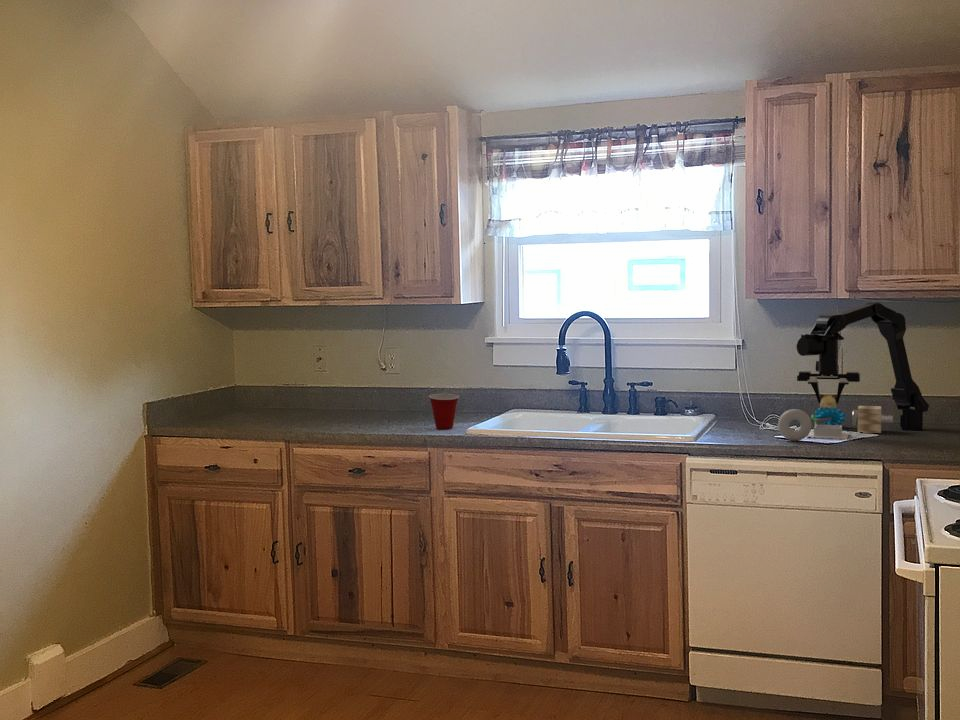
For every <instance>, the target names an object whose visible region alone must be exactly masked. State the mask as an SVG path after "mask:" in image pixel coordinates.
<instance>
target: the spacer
mask: <svg viewBox="0 0 960 720" xmlns="http://www.w3.org/2000/svg"><path fill="white" fill-rule="evenodd" d="M836 399H837V393H820V404H819V408H820V407H821V408H822V409H824V408H829V409H832V408H837V406H838V404H837V402H836Z"/></svg>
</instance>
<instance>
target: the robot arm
mask: <svg viewBox="0 0 960 720" xmlns="http://www.w3.org/2000/svg"><path fill="white" fill-rule="evenodd" d="M868 318H870V319H871V321H872V322H873V323H874V324H876V325H877V328H878V330H879V332H880V334H881V336H882V337H883V338H884V339H885V340H886V343H887V347H888V351H889V357H890V361H891V365H892V368H893V374H894V378H895V384H894V387H891V388H890V391H891V395H892V399H891V400H893V401H894V403H895V404H896V408H897V410H901V411H902V412H901V413H900V414H899V416H900V417H899V420H900V421H899V426H900V428H901V430H904V431H905V430H908V431H909V430H910V431H911V430H912V431H924V427H923V426H924V425H923V424H924V413H925V412H928V410H929V408H930V404H929V403H928V402H927V400H926V399H924V397H923V394H922V392H921V390H920V387H919V385H918V384H917V383H916V382H915V381H914V380H913V376H912V372H911V367H910V363H909V360H908V354H907V350H906V346H905V341H904V336H905V333H906V330H907V327H906V325H907V324H906V322H907V321H906V317H905V316H904V314H902V313H900V312H897V311H895V310H893V309H891V308H889V307H887V306H885V305H884V304H882V303H880V302H878V301H877V302H874V301H873V302H867V303H865V304H863V305H859V306H857V307H854V308H850V309H848V310H846V311H842V312H840V313H839V312H838V313H827V314H821V315H819V316H818V317H817V318H816V320H815V321H816V322H815V323H814V325H813V327H812V328H811V330H810V332H809V333H806V334H805V333H801V334H800V338H799V339H798V340H797V344H796V351H797V353H798V354H799V356H802V357H808V356H818V360H815V369H814V370H815V372H818V373H812V371H810V370H809V371H807V370H804V371H803V370H800V371H799V372H798V373H796V381H797V382H807V385H811V387H812V390H813V392H814V395H815V396H816V399H817V402H818V404H819V405H820V394H821V392H820V387H819V386H820V384H819V380H839V382H838V385H837V386H838V387H837V391H836V394H837V399H836V402H837V405H838V404H839V402H840V399H841V396H842V393H843V390H844V387H845V386H846V385H849V384H850V382H851V383H860V382H861V373H860V372H859V371H846V373H839V371H840V369H839V341H844V340H845V337H844V336H842V335H841V334H840V333H839V332H841V331H843V330H845V329H846V327H847V326H849V325H850V324H853V323H857V322H859V321H862V320H865V319H868Z"/></svg>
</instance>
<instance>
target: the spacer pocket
mask: <svg viewBox="0 0 960 720" xmlns="http://www.w3.org/2000/svg"><path fill="white" fill-rule="evenodd" d="M814 426H815V427H813V430H811V431H810V433H809V434H808V435H807V436H806V438H807V437H815V438H814V439H818V438H834V439H833V440H845V439H847V438H849V436H848V435H850V432H847V431H846V432H844V431H843V425H841V424H840V425H839V424H836V425H824V424H817V425H815V424H814ZM816 437H817V438H816ZM847 440H848V439H847Z"/></svg>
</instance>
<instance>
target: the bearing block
mask: <svg viewBox="0 0 960 720" xmlns="http://www.w3.org/2000/svg"><path fill="white" fill-rule="evenodd" d="M857 410H858V424H857V433H858V432H863V433H862V434H873V433H881V434H882V422H881V415H882V406H880V405H879V406H878V405H858V407H857Z"/></svg>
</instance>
